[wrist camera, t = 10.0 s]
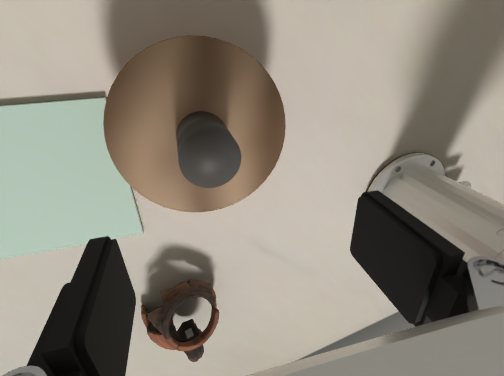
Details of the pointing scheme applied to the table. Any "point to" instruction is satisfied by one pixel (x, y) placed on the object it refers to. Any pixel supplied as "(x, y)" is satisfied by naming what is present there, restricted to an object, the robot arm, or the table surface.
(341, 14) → the table surface
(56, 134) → the mat
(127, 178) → the lid
